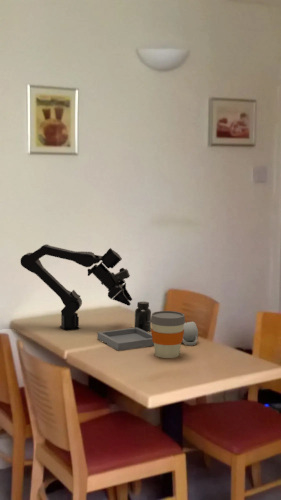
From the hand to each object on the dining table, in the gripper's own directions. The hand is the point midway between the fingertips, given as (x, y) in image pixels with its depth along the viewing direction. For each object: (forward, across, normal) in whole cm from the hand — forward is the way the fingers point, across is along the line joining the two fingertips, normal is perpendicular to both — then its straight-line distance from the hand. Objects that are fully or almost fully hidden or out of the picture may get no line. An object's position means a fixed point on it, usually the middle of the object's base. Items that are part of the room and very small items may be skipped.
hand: (130, 302), depth 268 cm
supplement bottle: (+12, 0, +5) cm, 13 cm away
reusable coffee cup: (+20, -33, -3) cm, 39 cm away
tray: (+9, -18, +8) cm, 22 cm away
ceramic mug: (+25, -16, -8) cm, 31 cm away
